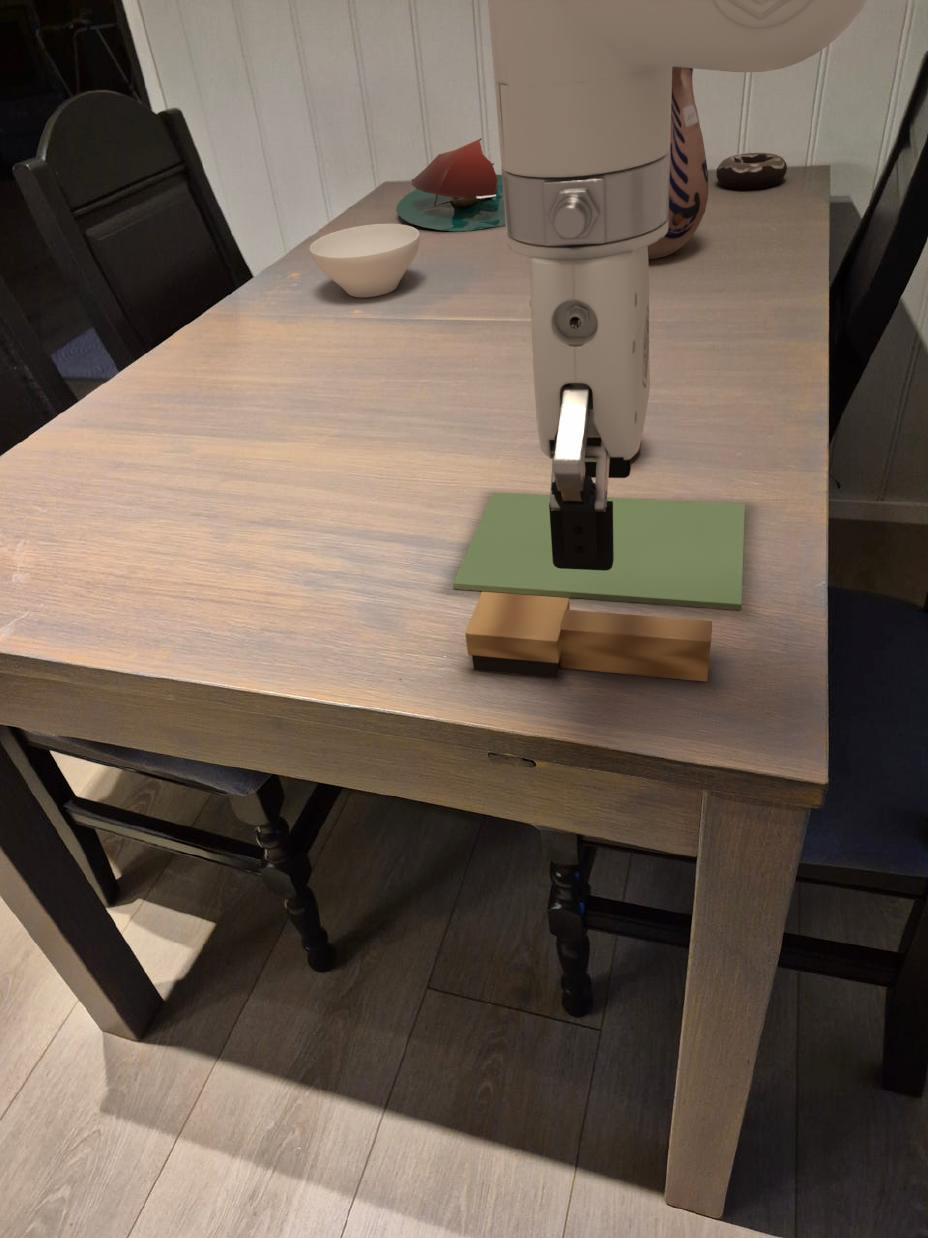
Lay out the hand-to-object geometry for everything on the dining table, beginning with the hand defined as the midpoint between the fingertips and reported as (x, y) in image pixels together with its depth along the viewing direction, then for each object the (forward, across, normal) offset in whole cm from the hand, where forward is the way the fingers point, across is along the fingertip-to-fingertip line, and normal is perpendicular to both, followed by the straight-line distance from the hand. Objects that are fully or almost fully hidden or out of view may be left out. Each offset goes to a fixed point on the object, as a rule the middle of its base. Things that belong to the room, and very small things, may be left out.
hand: (594, 517), depth 51 cm
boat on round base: (+14, +124, +38) cm, 130 cm away
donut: (+14, +132, -11) cm, 133 cm away
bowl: (+13, +82, +43) cm, 94 cm away
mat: (+14, +17, +2) cm, 22 cm away
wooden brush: (+14, +3, +2) cm, 14 cm away
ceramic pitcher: (+14, +94, +6) cm, 95 cm away
